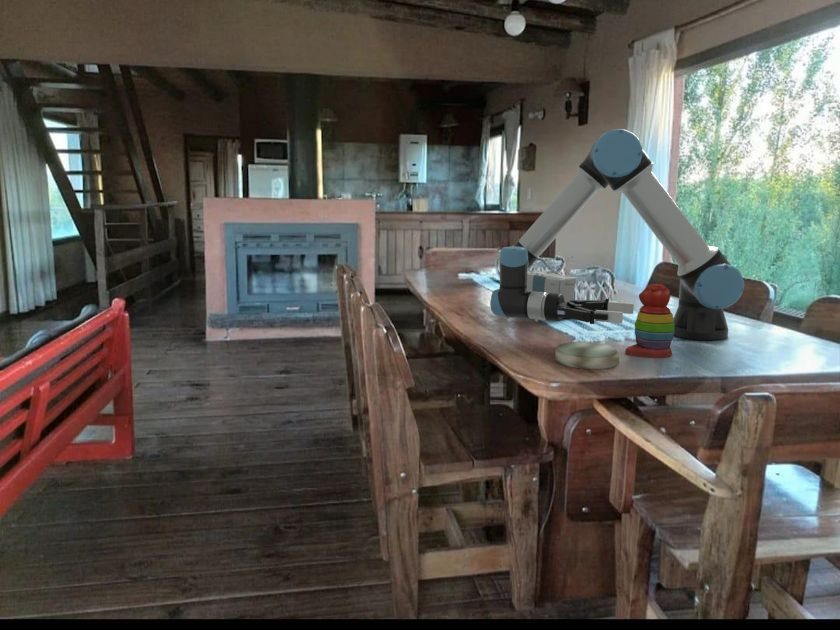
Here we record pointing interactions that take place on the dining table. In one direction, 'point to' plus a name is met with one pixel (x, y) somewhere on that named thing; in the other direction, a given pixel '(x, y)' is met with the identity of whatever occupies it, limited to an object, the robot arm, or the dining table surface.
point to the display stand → (587, 355)
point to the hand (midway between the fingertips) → (628, 313)
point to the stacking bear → (653, 324)
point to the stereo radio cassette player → (552, 283)
